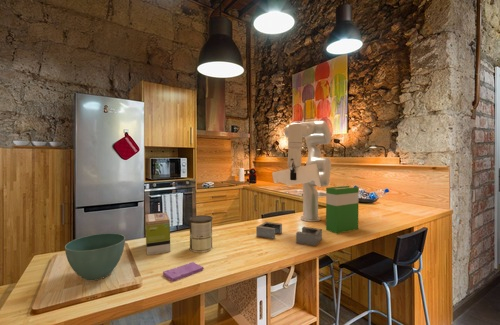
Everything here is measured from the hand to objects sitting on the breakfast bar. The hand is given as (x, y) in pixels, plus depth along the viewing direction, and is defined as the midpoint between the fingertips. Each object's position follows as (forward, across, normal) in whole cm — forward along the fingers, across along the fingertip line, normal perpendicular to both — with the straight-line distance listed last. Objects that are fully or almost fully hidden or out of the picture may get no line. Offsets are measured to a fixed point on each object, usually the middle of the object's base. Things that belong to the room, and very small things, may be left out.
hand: (295, 179), depth 140 cm
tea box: (+29, +52, -48) cm, 77 cm away
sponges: (+30, +65, -20) cm, 74 cm away
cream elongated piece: (+4, 0, 0) cm, 4 cm away
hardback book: (+30, -18, +22) cm, 41 cm away
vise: (+29, +10, 0) cm, 31 cm away
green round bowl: (+29, +81, -46) cm, 98 cm away
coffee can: (+29, +43, -30) cm, 60 cm away
